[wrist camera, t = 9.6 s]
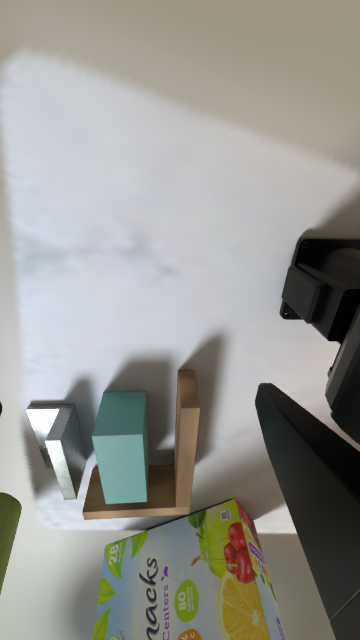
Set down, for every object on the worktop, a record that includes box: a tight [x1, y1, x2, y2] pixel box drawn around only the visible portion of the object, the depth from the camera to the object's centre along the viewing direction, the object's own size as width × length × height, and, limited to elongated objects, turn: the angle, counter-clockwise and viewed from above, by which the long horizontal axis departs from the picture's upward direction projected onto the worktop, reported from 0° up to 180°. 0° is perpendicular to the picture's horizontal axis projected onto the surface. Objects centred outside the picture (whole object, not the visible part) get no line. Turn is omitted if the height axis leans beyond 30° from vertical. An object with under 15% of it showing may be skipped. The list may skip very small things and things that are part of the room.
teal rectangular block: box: [92, 391, 149, 504], centre depth 25 cm, size 4×10×5 cm, turn 179°
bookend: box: [26, 404, 86, 500], centre depth 25 cm, size 4×9×4 cm, turn 178°
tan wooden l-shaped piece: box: [82, 370, 200, 520], centre depth 25 cm, size 11×16×4 cm
